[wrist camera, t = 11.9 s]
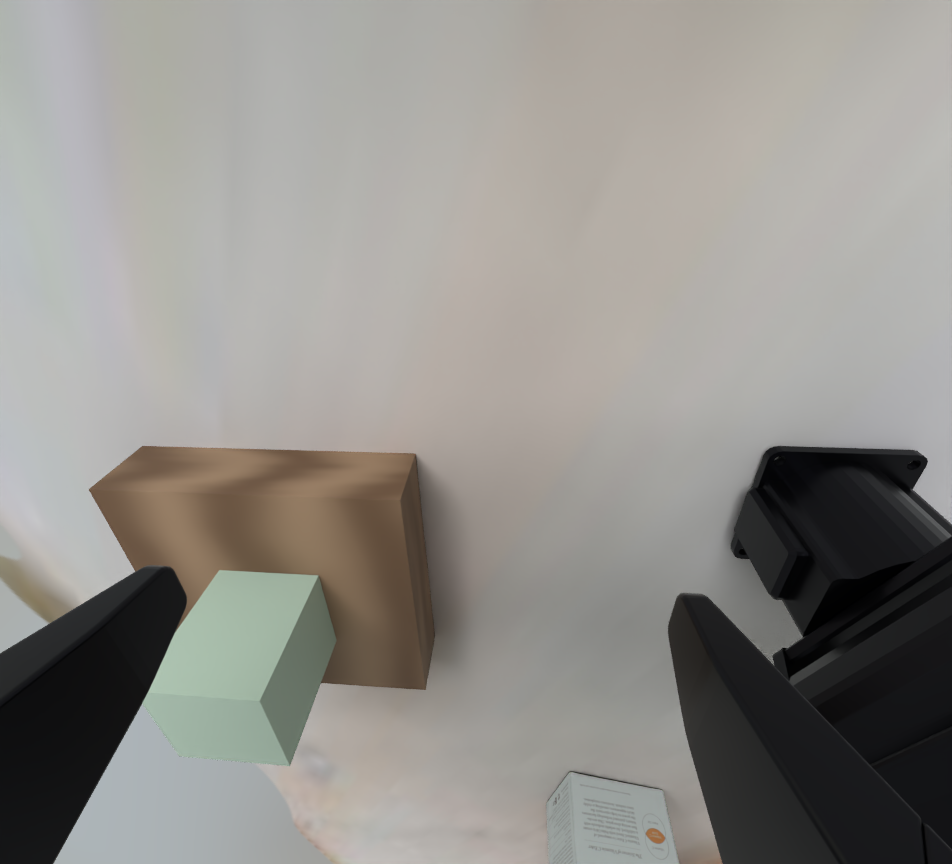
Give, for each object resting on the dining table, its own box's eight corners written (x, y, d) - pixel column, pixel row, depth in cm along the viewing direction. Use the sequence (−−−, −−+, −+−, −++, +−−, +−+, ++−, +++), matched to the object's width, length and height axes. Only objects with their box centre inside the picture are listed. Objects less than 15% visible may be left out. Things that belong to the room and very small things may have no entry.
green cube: (318, 575, 23) (259, 701, 18) (336, 640, 25) (290, 766, 20) (219, 570, 23) (133, 691, 18) (247, 634, 26) (179, 756, 21)
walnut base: (417, 447, 23) (399, 500, 20) (436, 628, 31) (425, 689, 27) (148, 440, 24) (88, 489, 21) (228, 617, 32) (193, 674, 28)
